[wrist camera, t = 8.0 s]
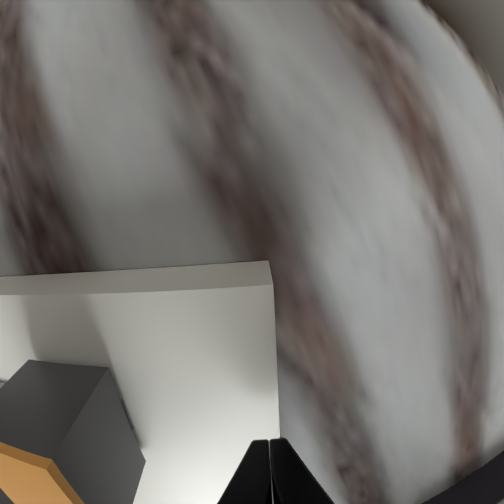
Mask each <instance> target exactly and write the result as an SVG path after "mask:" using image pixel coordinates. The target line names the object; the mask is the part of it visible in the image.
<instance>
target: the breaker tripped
mask: <svg viewBox="0 0 504 504" xmlns="http://www.w3.org/2000/svg"><path fill="white" fill-rule="evenodd" d="M145 463H146V460H145V458H144V456H143V454H142V451H141V449H140V447H139V445H138V442H137V440H136V438H135V435H134V433H133V431H132V428H131V426H130V423H129V421H128V419H127V416H126V413H125V411H124V408H123V406H122V403H121V400H120V398H119V395H118V392H117V389H116V387H115V384H114V381H113V378H112V375H111V372H110V369H109V367H98V366H85V365H73V364H63V363H54V362H45V361H37V360H30V359H29V360H28V361H27V362H26V363H25V364H24V365H23V366H22V367H21V368H20V369H19V370H18V371H17V372H16V373H15V374H14V375H13V376H12V377H11V378H10V379H9V380H8V381H7V382H6V383H5V384H4V385H3V386H2V387H1V388H0V488H1V489H2V490H3V492H4V493H5V494H6V495H7V496H8V497H9V498H10V499H11V500H12V502H13V503H14V504H133V502H134V498H135V495H136V492H137V488H138V485H139V482H140V479H141V475H142V472H143V469H144V466H145Z"/></svg>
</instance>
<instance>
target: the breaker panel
mask: <svg viewBox="0 0 504 504" xmlns="http://www.w3.org/2000/svg"><path fill="white" fill-rule="evenodd" d="M29 359H30V360H37V361H45V362H54V363H63V364H73V365H85V366H98V367H109V369H110V372H111V375H112V378H113V381H114V384H115V387H116V389H117V392H118V395H119V398H120V400H121V403H122V406H123V408H124V411H125V413H126V416H127V419H128V421H129V423H130V426H131V428H132V431H133V433H134V435H135V438H136V440H137V442H138V445H139V447H140V449H141V451H142V454H143V456H144V458H145V460H146V463H145V466H144V469H143V472H142V475H141V479H140V482H139V485H138V488H137V492H136V495H135V498H134V502H133V504H217V503H218V501H219V499H220V498H221V496H222V494H223V492H224V491H225V489H226V487H227V485H228V484H229V482H230V480H231V478H232V477H233V475H234V473H235V471H236V469H237V468H238V466H239V464H240V462H241V460H242V458H243V457H244V455H245V453H246V451H247V449H248V447H249V445H250V443H251V442H252V441H253V440H260V439H267V440H268V441H270V440H271V439H276V438H280V430H279V401H278V375H277V352H276V330H275V309H274V290H273V281H272V276H271V271H270V265H269V260H268V261H253V262H239V263H224V264H210V265H194V266H179V267H164V268H148V269H132V270H115V271H98V272H81V273H63V274H45V275H27V276H7V277H0V388H1V387H2V386H3V385H4V384H5V383H6V382H7V381H8V380H9V379H10V378H11V377H12V376H13V375H14V374H15V373H16V372H17V371H18V370H19V369H20V368H21V367H22V366H23V365H24V364H25V363H26V362H27V361H28V360H29ZM269 449H270V446H269ZM270 464H271V463H270ZM271 481H272V479H271ZM272 499H273V496H272Z"/></svg>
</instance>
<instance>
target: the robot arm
mask: <svg viewBox="0 0 504 504" xmlns="http://www.w3.org/2000/svg"><path fill="white" fill-rule="evenodd" d="M269 446H270V449H269ZM270 463H271V464H270ZM271 479H272V481H271ZM272 496H273V499H272ZM217 504H334V502H333V501H332V500H331V498H330V497H329V496H328V495H327V493H326V492H325V491H324V489H323V488H322V487H321V485H320V484H319V483H318V481H317V480H316V479H315V477H314V476H313V475H312V473H311V472H310V471H309V469H308V468H307V467H306V465H305V464H304V463H303V461H302V460H301V459H300V457H299V456H298V454H297V453H296V452H295V450H294V449H293V447H292V446H291V445H290V443H289V442H288V440H287V439H285V438H276V439H271V440H270V441H268V440H267V439H260V440H253V441H252V442H251V443H250V445H249V447H248V449H247V451H246V453H245V455H244V457H243V458H242V460H241V462H240V464H239V466H238V468H237V469H236V471H235V473H234V475H233V477H232V478H231V480H230V482H229V484H228V485H227V487H226V489H225V491H224V492H223V494H222V496H221V498H220V499H219V501H218V503H217Z"/></svg>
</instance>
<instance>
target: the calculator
mask: <svg viewBox="0 0 504 504" xmlns="http://www.w3.org/2000/svg"><path fill="white" fill-rule="evenodd" d="M422 504H504V451H503V452H502V453H500V454H499V455H498V456H496V457H495V458H494V459H492V460H491V461H490V462H488V463H487V464H485V465H484V466H483V467H481V468H480V469H478V470H477V471H475V472H474V473H472V474H471V475H469V476H468V477H466V478H465V479H463V480H462V481H460V482H459V483H457V484H455V485H454V486H452V487H450V488H449V489H447V490H445V491H444V492H442V493H440V494H438V495H437V496H435V497H433V498H431V499H429V500H428V501H426V502H424V503H422Z"/></svg>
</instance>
